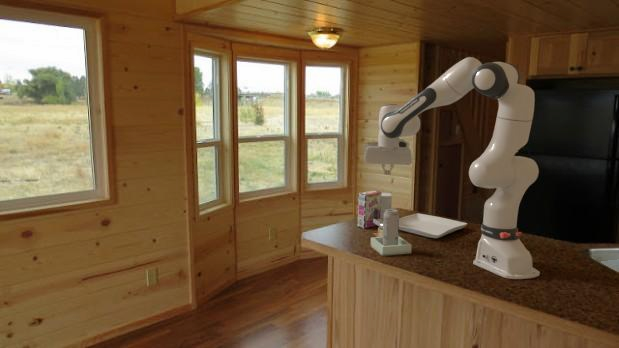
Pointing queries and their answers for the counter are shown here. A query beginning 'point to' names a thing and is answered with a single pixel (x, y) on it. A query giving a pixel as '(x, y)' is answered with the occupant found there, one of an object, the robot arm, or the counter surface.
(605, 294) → the counter surface
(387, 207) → the supplement box
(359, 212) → the candy bar box
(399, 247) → the tray
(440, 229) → the square plate
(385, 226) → the energy drink can
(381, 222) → the crank lever
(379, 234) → the crank pedestal
